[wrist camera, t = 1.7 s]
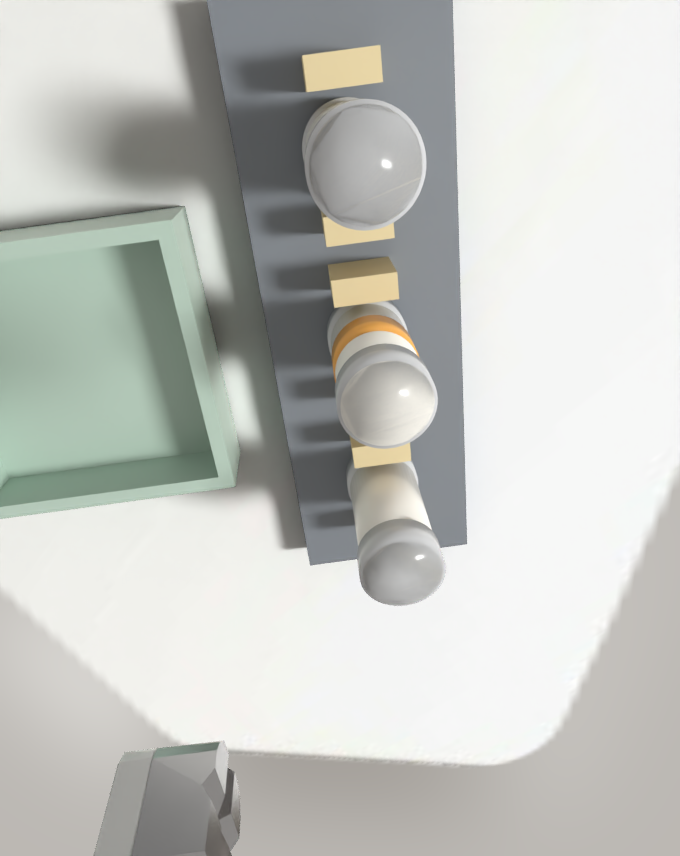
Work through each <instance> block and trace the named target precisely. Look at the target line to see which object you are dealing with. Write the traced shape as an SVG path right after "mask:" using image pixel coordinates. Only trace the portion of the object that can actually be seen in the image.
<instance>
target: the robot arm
mask: <svg viewBox="0 0 680 856" xmlns="http://www.w3.org/2000/svg"><path fill="white" fill-rule="evenodd" d="M228 756H229V753H228V751H227V748H226V745H225V742H224V741H216V742H207V743H199V744H190V745H182V746H173V747H165V748H154V749H147V750H140V751H132V752H126V753H124V755H123V757H122V758H121V760H120V762H119V764H118V766H117V770H116V774H115V777H114V781H113V785H112V788H111V792H110V796H109V800H108V803H107V807H106V811H105V815H104V819H103V822H102V826H101V829H100V833H99V837H98V841H97V844H96V848H95V852H94V856H232V855H231V852H230V851H231V850H232V848H233V847H234V845H235V844H236V842H237V841H238V839H239V834H240V818H241V816H240V795H239V788H238V782H237V779H236V776H235V772H234V771H232V770H231V769H229V768H227V767H228Z"/></svg>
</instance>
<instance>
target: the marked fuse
mask: <svg viewBox="0 0 680 856" xmlns="http://www.w3.org/2000/svg"><path fill="white" fill-rule="evenodd" d="M327 339H328V346H329V351H330V354H331V357H332V366H333V373H334V379H335V398H336V405H337V412H338V417H339V420H340V423H341V424H342V426H343V428H344V429H345V431H346V432H347V433H348V434H349V435H350V436H351V437H352V438H353V439H355V440H356V441H358V442H359V443H361V444H363V445H366V446H369V447H373V448H380V449H388V448H395V447H399V446H403V445H405V444H407V443H410V442H411V441H413V440H415V439H416V438H418V437H419V436H420V435H421V434H422V433H424V432H425V430H426V429H427V428H428V427H429V425H430V424H431V422H432V421H433V418H434V416H435V413H436V410H437V405H438V396H437V390H436V387H435V384H434V382H433V380H432V378H431V376H430V374H429V372H428V370H427V367H426V366H425V364H424V362H423V361H422V360H421V359H420V357H419V354H418V352H417V350H416V348H415V346H414V344H413V342H412V339H411V337H410V335H409V334H408V330H407V327H406V324H405V322H404V320H403V318H402V316H401V313H400V311H399V310H398V308H397V307H396V306H395V304H394V303H393V302H391V301H390V300H389V301H381V302H374V303H367V304H359V305H352V306H344V307H337V308H335V309H334V310H333V311H332V313H331V315H330V317H329V320H328V324H327Z"/></svg>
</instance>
